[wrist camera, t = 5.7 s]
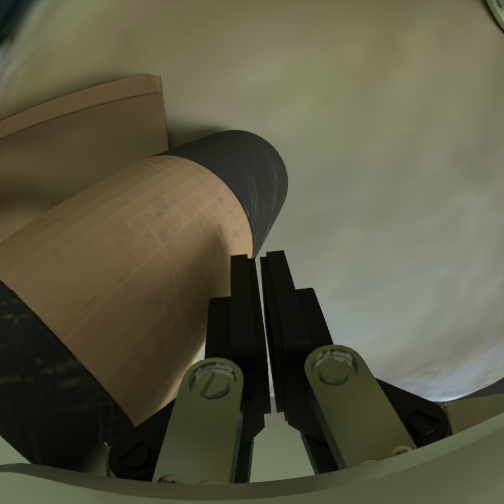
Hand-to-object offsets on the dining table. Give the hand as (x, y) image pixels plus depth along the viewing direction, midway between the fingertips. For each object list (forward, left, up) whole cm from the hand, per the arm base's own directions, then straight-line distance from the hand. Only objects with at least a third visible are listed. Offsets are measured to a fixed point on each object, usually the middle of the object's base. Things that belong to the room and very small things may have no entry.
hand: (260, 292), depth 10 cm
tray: (0, -15, -14) cm, 21 cm away
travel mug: (0, 0, -13) cm, 13 cm away
